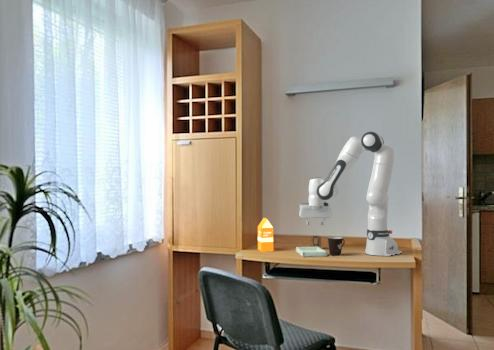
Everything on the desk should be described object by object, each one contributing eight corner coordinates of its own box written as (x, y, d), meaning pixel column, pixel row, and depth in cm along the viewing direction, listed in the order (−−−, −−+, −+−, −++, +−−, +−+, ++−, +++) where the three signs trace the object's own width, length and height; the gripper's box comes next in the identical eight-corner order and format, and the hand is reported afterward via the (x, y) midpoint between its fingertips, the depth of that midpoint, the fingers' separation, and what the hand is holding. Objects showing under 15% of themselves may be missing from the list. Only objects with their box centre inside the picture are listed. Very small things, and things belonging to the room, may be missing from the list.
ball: (316, 247, 269) (315, 243, 269) (318, 247, 267) (318, 243, 267) (312, 248, 268) (312, 244, 268) (315, 248, 265) (314, 244, 266)
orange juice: (261, 252, 257) (261, 219, 257) (257, 249, 266) (257, 217, 266) (273, 251, 259) (273, 218, 259) (269, 249, 268) (269, 217, 268)
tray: (318, 250, 261) (318, 246, 261) (327, 256, 243) (327, 252, 243) (295, 251, 260) (295, 247, 260) (303, 256, 241) (303, 252, 241)
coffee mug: (331, 256, 242) (331, 239, 242) (325, 253, 251) (325, 236, 251) (350, 255, 244) (350, 238, 244) (343, 253, 253) (343, 236, 253)
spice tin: (318, 248, 270) (318, 235, 270) (320, 249, 265) (320, 236, 265) (310, 248, 270) (310, 235, 270) (312, 249, 265) (312, 237, 265)
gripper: (300, 203, 263) (300, 225, 263) (332, 203, 265) (332, 225, 265) (298, 202, 270) (297, 224, 270) (329, 202, 272) (329, 224, 272)
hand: (315, 225), depth 268 cm, fingers open, 8 cm apart
